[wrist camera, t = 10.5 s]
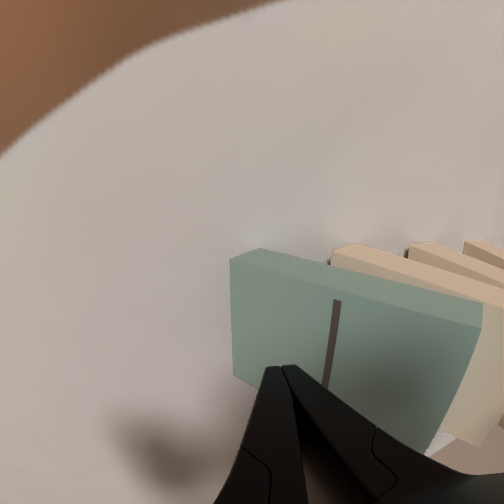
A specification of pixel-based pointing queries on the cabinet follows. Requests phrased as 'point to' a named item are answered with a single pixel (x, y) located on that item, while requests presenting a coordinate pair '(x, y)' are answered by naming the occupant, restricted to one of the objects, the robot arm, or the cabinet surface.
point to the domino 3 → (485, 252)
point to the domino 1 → (354, 338)
